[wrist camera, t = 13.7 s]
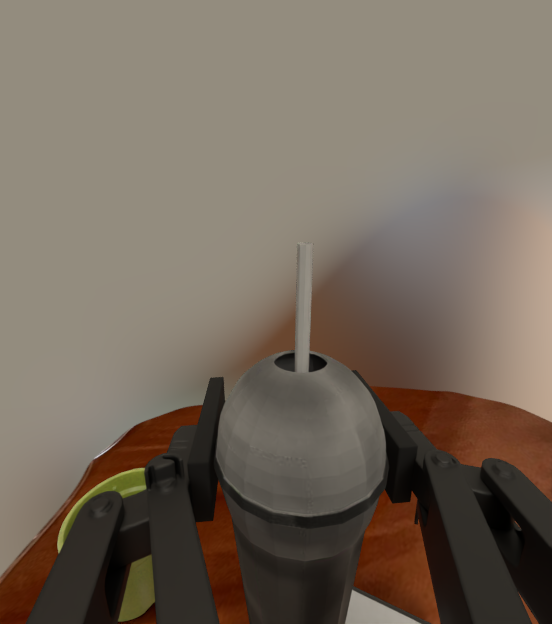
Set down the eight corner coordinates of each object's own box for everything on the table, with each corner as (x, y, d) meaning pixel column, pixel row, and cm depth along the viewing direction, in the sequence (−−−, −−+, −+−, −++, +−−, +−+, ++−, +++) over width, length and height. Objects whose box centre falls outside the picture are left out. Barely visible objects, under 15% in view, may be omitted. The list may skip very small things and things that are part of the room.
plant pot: (51, 661, 22) (25, 579, 20) (106, 537, 31) (93, 471, 29) (177, 641, 23) (166, 561, 21) (195, 526, 32) (188, 462, 30)
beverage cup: (348, 553, 19) (371, 240, 14) (390, 745, 12) (473, 243, 7) (237, 553, 19) (220, 241, 14) (213, 743, 12) (158, 245, 7)
